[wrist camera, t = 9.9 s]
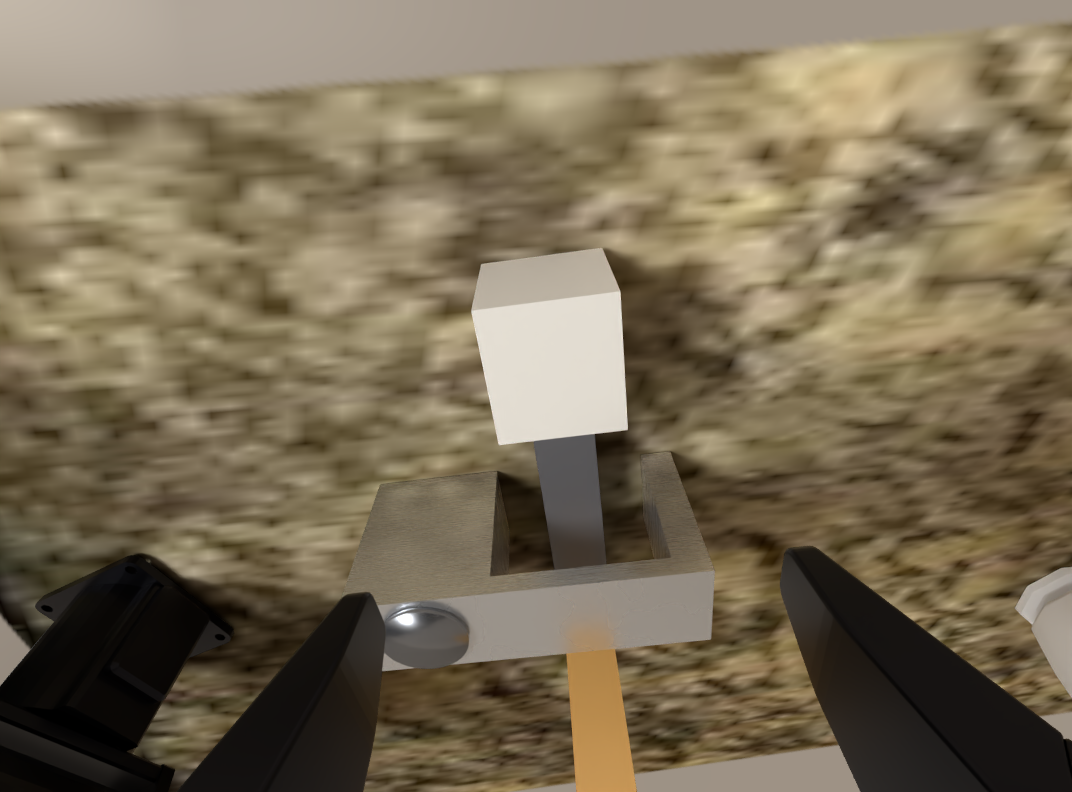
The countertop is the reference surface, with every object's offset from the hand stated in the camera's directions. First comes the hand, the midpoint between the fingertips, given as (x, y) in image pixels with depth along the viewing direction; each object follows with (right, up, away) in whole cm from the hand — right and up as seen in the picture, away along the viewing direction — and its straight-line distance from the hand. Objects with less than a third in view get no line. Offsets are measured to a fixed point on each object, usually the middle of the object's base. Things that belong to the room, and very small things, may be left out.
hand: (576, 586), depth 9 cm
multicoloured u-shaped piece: (+1, 0, +14) cm, 14 cm away
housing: (-1, -1, +15) cm, 15 cm away
